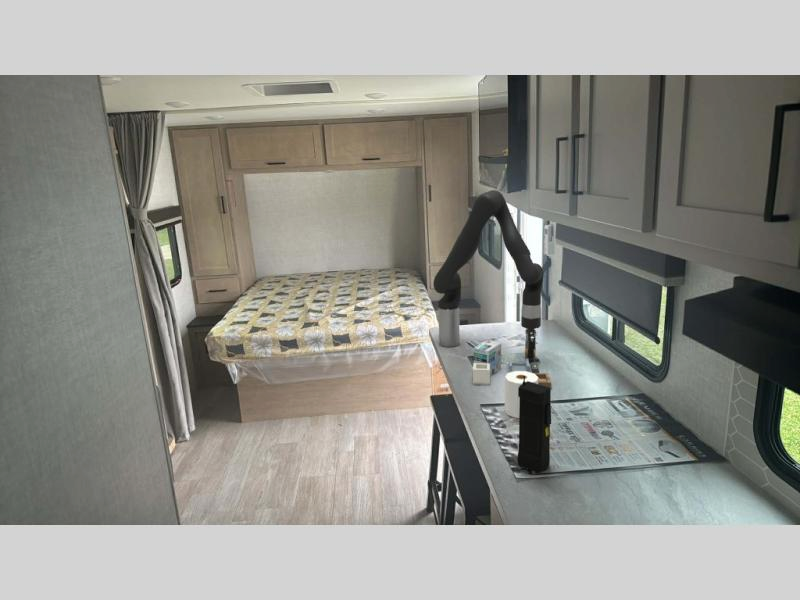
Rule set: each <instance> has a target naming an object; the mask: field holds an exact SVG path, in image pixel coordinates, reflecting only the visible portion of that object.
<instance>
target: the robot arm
mask: <svg viewBox="0 0 800 600" xmlns="http://www.w3.org/2000/svg"><path fill="white" fill-rule="evenodd" d="M493 216H494V218H495V220H496V221H497V222H498V225H499V227H500V230H501V234H502V239H503V240H502V241H503V243H504V246H505V248H506V250H507V252H508V254H509V256H510V257H511V258H512V260H513V262H514V265H515V268H516V270H517V273H518V274H519V275H518V276H519V277H520V278H521V280H522V281H523V282H524V288H523V291H522V297H521V299H522V300H521V301H522V304H521V311H520V312H521V316H520V317H521V319H520V320H521V322H520V323H521V324H520V325H521V327H522V328H524V329H525V340H526V342H527V343H528V347H527V348H528V358H534V350H535V343H536V337H537V330H536V329H539V328H541V325H542V294H541V293H542V289H543V288H542V287H543V281H544V270H543V267H542V266H541V265H540V264H539V263H536V262H533V260H532V258H531V255H532V254H531V251H530V249H529V248H528V246H527V244H526V242H525V240H524V239H523V237H522V236H521V234H520V232H519V231H518V228H517V226H516V223H515V221H514V218H513V216H512V214H511V212H510V209H509V206H508V204H507V201H506V199H505V197H504V195H503V194H502V192H500V191H499V190H496V189H492V190H489V191H485V192H483V193H481V194H480V195H478V196H477V198H476V199H475V201H474V202H473V205H472V208H471V210H470V213H469V216H468V217H467V220H466V223H465V224H464V225H463V227H462V229H461V231H460V233H459V235H458V236H457V238H456V240H455V242H454V244H453V246H452V248H451V250H450V251H449V253H448V256H447V257H446V259H445V261H444V263H443V264H442V266H441V267H440V269H439V270H438V272H436V274H435V276H434V278H433V285H432V286H433V288H434V290H435V292H436V293H438V294H443V296H442V297H441V298H440V299H439V300H438V302H437V312H438V316H437V317H438V343H439V345H440V346H441V347H445V348H453V347H457V346H459V345H460V342H461V341H460V340H461V339H460V336H461V335H460V302H461V296H462V280H461V279H462V278H461V276H460V274H459V270H460V269H462V268H463V267H464V266H465V265H466V264H467V263H469V262H470V261H471V259H472V258H473V257H474V256H475V254H476V252H477V250H478V249H479V247H480V245H481V240H482V231H483V229H484V227H485V226H486V224H487V223H488V221H489V220H490V219H491V217H493ZM536 344H537V343H536ZM530 345H533V346H530Z"/></svg>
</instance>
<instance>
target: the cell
mask: <svg viewBox="0 0 800 600" xmlns="http://www.w3.org/2000/svg"><path fill="white" fill-rule="evenodd" d="M524 343H525V346H524V361H525V362H526V359H528V360H529V364H531V362H536V353H537V352H536V350H537V347H536V345H537V343H535V350H534V358H528V348H527V347H528V343H527V342H526V339H525V341H524ZM530 346H533V345H530Z"/></svg>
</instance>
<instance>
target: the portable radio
mask: <svg viewBox="0 0 800 600" xmlns="http://www.w3.org/2000/svg"><path fill="white" fill-rule="evenodd" d="M523 377H524V381H523V384H521V385H520V386H519V388H518V397H520V407H519V418H518V419H519V420H518V421H519V422H518V423H519V424H518V427H519V428H518V429H519V430H518V451H517V466H519V465H520V466H519V467H522V466H523V467H522V468H524V467H525V468H524V469H526V468H528V469H527V470H529V471H531V472H533V471H534V472H533V473H535V472H536V473H535V474H539V473H542V472H543V471H544V470H545V469H546V467H547V468H548V467H549V466H550V465H551V461H550V460H551V459H550V457H551V456H550V455H551V454H550V451H551V450H550V448H551V447H550V440H551V439H550V436H551V424H552V405H551V398H552V397H551V391H552V390H551V389H552V387H551V388H549V387H546V386H543V385H539V384H536V383H533V382H529V381H527V382H525V376H523Z"/></svg>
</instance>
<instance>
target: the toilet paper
mask: <svg viewBox="0 0 800 600" xmlns="http://www.w3.org/2000/svg"><path fill="white" fill-rule="evenodd" d="M523 376H525V382H527V381H529V382H533V383H536V384H538V377H537V376H536V375H535V374H534V373H530V372H526V371H514V372H510V373H507V372H506V374H505V376H504V412H505V413H506V414H507V416H509V417H511V418H512V417H513V418H515V419H519V407H520V397H518V388H519V386H520V385H521V384H523V381H524V377H523Z"/></svg>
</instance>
